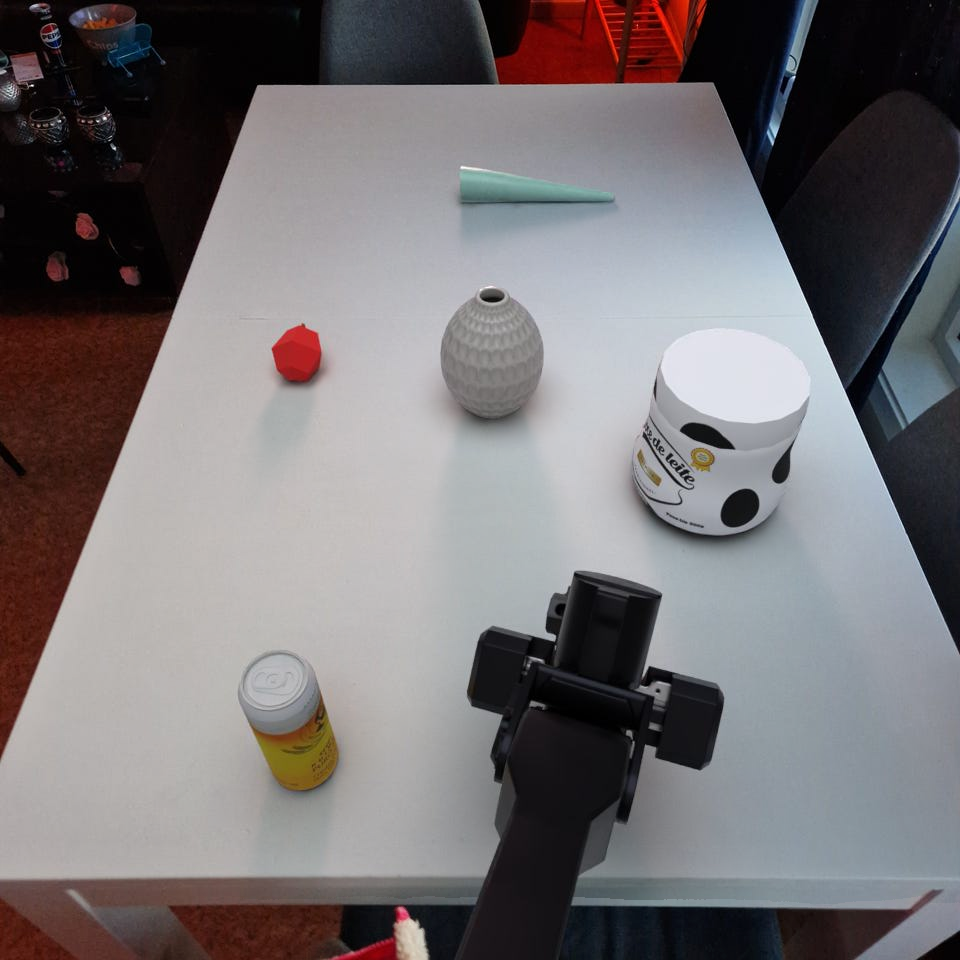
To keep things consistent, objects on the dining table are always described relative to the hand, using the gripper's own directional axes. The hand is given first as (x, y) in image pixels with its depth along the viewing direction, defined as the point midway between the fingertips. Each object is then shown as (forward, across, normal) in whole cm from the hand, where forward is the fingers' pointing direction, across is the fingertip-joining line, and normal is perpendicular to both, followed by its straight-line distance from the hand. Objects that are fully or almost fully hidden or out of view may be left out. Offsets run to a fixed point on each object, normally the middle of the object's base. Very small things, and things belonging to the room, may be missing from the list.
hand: (599, 670), depth 71 cm
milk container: (+29, -7, -17) cm, 34 cm away
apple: (+34, +48, -22) cm, 63 cm away
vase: (+34, +22, -22) cm, 46 cm away
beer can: (-1, +24, +15) cm, 28 cm away
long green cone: (+71, +29, -61) cm, 98 cm away
